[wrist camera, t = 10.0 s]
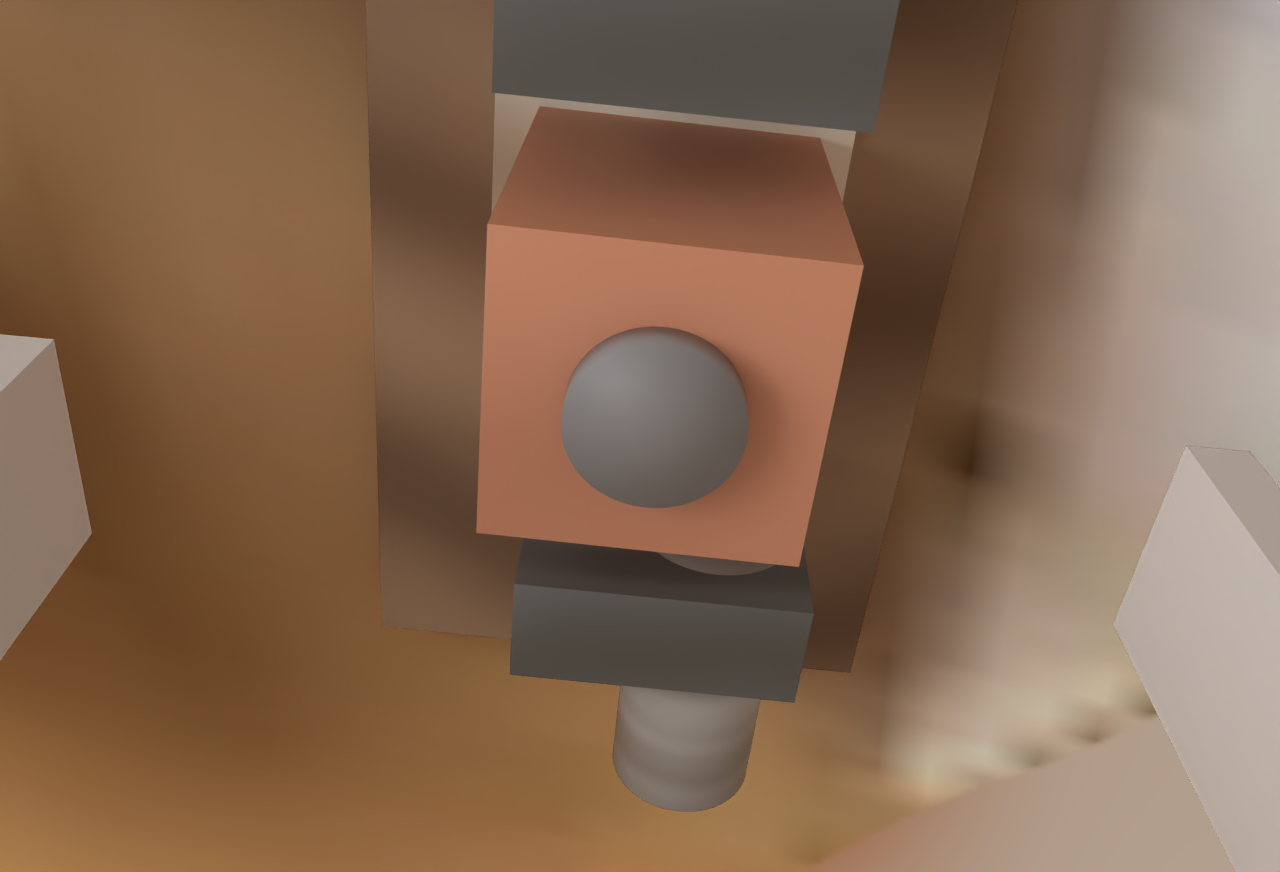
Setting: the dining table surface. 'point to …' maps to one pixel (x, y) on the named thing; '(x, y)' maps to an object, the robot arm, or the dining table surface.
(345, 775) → the dining table surface
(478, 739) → the dining table surface
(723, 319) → the joint block
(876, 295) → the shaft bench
